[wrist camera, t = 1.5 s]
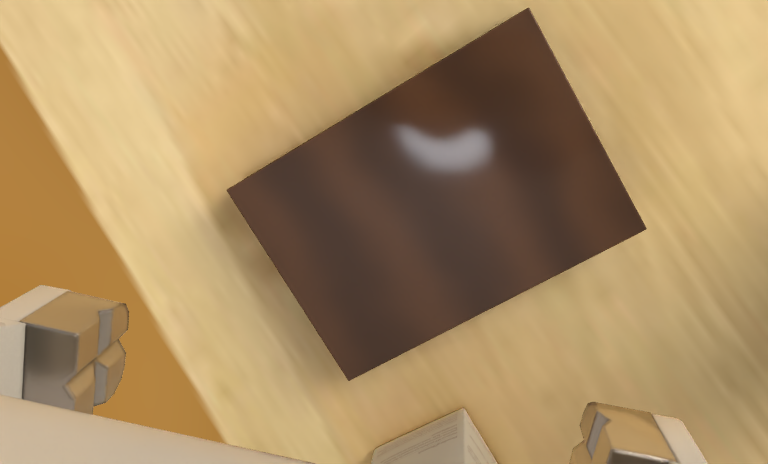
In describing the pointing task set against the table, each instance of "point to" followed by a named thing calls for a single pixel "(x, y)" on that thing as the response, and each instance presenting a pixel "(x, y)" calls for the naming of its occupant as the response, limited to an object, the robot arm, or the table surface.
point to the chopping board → (439, 199)
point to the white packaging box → (438, 444)
